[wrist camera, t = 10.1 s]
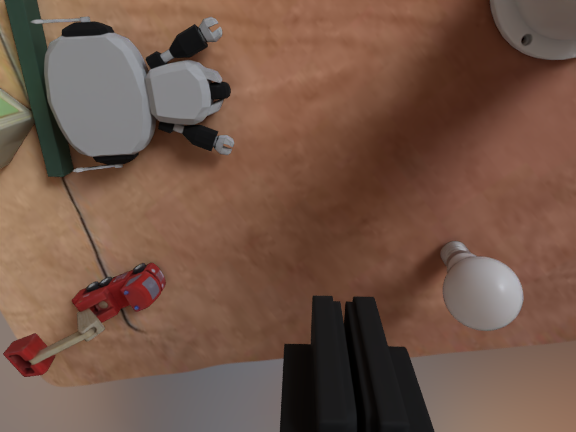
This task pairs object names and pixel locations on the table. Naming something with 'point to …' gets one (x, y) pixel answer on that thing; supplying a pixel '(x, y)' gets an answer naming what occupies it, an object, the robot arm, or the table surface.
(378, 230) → the table surface
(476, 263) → the lightbulb
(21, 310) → the table surface
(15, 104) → the toy refrigerator
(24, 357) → the toy fire truck
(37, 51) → the rail
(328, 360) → the robot arm
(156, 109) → the robot toy
